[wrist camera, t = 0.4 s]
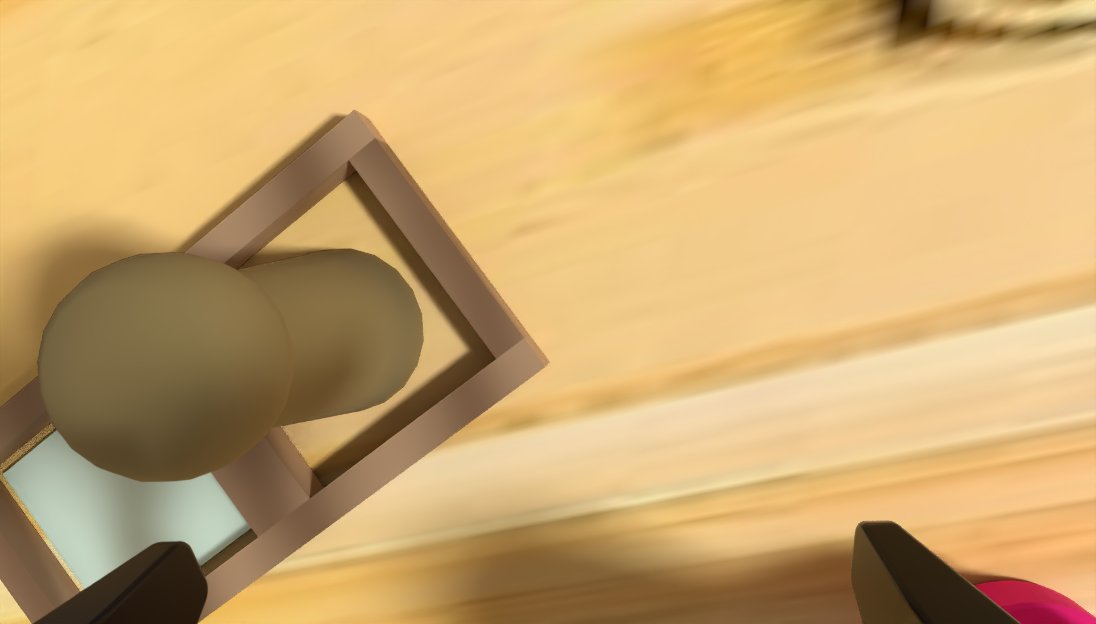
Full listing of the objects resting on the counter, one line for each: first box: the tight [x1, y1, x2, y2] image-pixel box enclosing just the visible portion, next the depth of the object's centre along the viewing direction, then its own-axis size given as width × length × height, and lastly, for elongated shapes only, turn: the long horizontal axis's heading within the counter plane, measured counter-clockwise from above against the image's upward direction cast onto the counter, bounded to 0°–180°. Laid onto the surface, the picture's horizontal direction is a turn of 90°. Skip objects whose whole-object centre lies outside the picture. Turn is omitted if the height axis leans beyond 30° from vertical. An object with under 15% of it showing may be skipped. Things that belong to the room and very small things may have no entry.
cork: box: [37, 249, 424, 482], centre depth 19 cm, size 6×6×11 cm
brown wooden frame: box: [0, 110, 549, 624], centre depth 24 cm, size 22×11×1 cm, turn 127°
